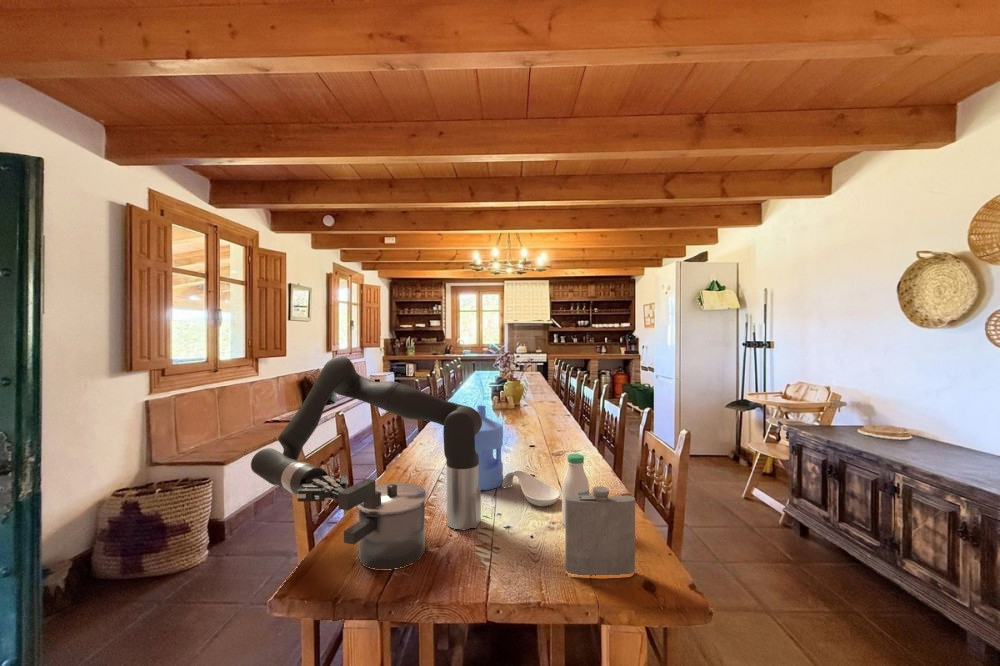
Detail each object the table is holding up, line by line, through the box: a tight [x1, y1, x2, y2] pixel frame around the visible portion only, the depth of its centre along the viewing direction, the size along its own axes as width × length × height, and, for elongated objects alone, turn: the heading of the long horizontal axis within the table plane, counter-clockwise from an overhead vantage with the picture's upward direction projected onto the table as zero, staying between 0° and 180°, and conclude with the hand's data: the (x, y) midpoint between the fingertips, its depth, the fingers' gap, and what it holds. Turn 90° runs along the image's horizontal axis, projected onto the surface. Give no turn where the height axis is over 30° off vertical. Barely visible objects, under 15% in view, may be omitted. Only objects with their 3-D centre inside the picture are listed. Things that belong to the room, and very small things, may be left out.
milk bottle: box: [561, 453, 590, 526], centre depth 124 cm, size 8×8×20 cm
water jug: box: [475, 405, 504, 491], centre depth 157 cm, size 16×16×28 cm
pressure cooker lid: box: [337, 478, 427, 515], centre depth 105 cm, size 25×17×8 cm, turn 157°
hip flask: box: [564, 486, 636, 576], centre depth 99 cm, size 16×4×20 cm, turn 90°
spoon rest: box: [501, 470, 561, 507], centre depth 144 cm, size 24×12×7 cm, turn 40°
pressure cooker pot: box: [343, 502, 426, 569], centre depth 105 cm, size 24×16×13 cm, turn 159°
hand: (345, 496), depth 96 cm, fingers closed
